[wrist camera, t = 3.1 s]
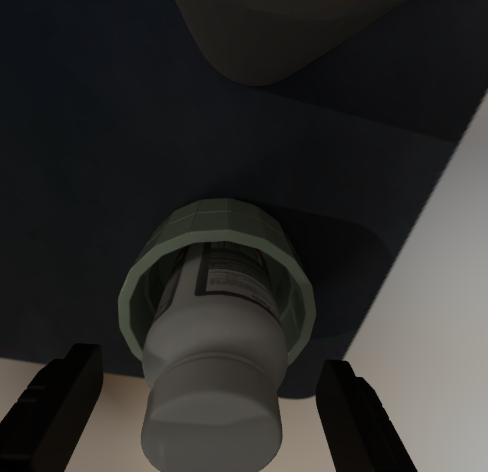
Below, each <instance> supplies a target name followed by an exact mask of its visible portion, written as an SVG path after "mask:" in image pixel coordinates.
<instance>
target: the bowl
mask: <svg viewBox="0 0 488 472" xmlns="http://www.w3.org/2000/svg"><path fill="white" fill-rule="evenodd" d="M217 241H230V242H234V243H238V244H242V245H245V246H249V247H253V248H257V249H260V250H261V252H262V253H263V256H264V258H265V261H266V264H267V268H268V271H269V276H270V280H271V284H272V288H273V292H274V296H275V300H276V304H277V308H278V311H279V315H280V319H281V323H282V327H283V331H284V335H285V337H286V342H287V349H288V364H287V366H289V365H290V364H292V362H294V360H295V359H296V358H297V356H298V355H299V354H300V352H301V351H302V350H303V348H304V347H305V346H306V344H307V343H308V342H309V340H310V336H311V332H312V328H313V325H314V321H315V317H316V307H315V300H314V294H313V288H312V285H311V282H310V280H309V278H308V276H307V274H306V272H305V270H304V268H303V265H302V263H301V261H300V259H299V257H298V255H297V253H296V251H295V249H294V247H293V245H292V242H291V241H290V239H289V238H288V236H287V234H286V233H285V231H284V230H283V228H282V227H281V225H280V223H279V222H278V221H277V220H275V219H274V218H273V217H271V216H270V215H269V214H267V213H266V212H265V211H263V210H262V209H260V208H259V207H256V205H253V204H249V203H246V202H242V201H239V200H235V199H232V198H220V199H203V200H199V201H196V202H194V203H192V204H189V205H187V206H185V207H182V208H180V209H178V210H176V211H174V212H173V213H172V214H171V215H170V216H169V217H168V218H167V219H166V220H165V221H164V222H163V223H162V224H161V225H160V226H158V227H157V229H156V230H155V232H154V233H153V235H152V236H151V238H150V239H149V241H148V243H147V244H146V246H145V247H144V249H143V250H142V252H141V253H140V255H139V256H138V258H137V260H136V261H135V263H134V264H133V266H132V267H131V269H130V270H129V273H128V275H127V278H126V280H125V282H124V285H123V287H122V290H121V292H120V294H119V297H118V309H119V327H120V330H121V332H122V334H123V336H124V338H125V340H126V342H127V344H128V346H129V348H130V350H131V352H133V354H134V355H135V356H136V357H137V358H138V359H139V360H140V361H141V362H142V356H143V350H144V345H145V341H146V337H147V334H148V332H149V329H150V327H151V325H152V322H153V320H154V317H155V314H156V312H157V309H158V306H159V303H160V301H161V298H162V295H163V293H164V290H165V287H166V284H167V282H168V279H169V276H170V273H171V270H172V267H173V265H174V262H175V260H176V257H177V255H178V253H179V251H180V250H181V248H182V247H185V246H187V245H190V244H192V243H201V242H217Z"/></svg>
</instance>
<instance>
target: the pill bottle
mask: <svg viewBox="0 0 488 472" xmlns="http://www.w3.org/2000/svg"><path fill="white" fill-rule="evenodd" d="M287 364H288V349H287V342H286V337H285V335H284V331H283V327H282V323H281V319H280V315H279V311H278V308H277V304H276V300H275V296H274V292H273V288H272V284H271V280H270V276H269V271H268V268H267V264H266V261H265V258H264V256H263V253H262V252H261V250H260V249H257V248H253V247H249V246H245V245H242V244H238V243H234V242H230V241H217V242H201V243H192V244H190V245H187V246H185V247H182V248H181V250H180V251H179V253H178V255H177V257H176V260H175V262H174V265H173V267H172V270H171V273H170V276H169V279H168V282H167V284H166V287H165V290H164V293H163V295H162V298H161V301H160V303H159V306H158V309H157V312H156V314H155V317H154V320H153V322H152V325H151V327H150V329H149V332H148V334H147V337H146V341H145V345H144V350H143V356H142V365H143V372H144V376H145V379H146V381H147V383H148V385H149V387H150V389H151V392H150V394H149V397H148V403H147V409H146V414H145V419H144V423H143V427H142V432H141V445H142V449H143V452H144V454H145V456H146V458H147V459H148V460H149V462H150V463H151V464H152V465H153V466H154V467H155V468H156V469H158V470H159V471H161V472H259V471H260V470H262V469H263V468H264V467H265V466H267V465H268V464H269V463H270V462H271V461H272V459H273V458H274V457H275V456H276V454H277V452H278V451H279V449H280V446H281V443H282V424H281V417H280V410H279V403H278V397H277V393H276V391H277V389H278V388H279V386H280V385H281V383H282V381H283V379H284V377H285V373H286V370H287Z"/></svg>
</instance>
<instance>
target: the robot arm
mask: <svg viewBox="0 0 488 472" xmlns="http://www.w3.org/2000/svg"><path fill="white" fill-rule="evenodd" d="M102 385H103V364H102V351H101V346H100V345H97V344H81V343H76V344H75V345H74V346H73V347H72V348H71V350H70V351H69V353H68V354H67V356H66V357H65V358H64V359H54V360H53V361H52V362H50V363H49V364H48V365H46V366H45V367H44V368H42V369H41V370H40V371H39V372H38V373H37V374H36V376H35V377H34V378H33V380H32V381H31V382H30V384H29V385H28V386H27V389H26V390H24V392H23V393H22V394H21V396H20V397H19V399H18V401H17V403H15V404H14V405H13V406H12V408H11V409H10V411H9V412H8V413H7V415H6V416H5V417H4V419H3V420H2V421H1V423H0V472H64V471H65V469H66V466H67V465H68V462H69V460H70V458H71V456H72V454H73V451H74V449H75V447H76V445H77V443H78V441H79V439H80V436H81V434H82V432H83V430H84V428H85V426H86V424H87V422H88V419H89V417H90V415H91V413H92V411H93V409H94V406H95V404H96V402H97V400H98V398H99V395H100V392H101V389H102ZM316 405H317V409H318V413H319V416H320V419H321V423H322V426H323V429H324V433H325V436H326V439H327V442H328V446H329V449H330V452H331V456H332V459H333V462H334V466H335V469H336V472H418V471H417V469H416V468H415V466H414V464H413V462H412V460H411V458H410V456H409V454H408V452H407V451H406V449H405V447H404V445H403V443H402V441H401V439H400V437H399V435H398V434H397V432H396V430H395V428H394V426H393V424H392V422H391V421H390V420H389V417H388V415H387V413H386V411H385V409H384V408H383V407H382V403H381V401H380V400H379V398H378V396H377V394H376V392H375V390H374V389H373V388H372V387H371V386H370V385H369V384H368V383H367V382H366V381H365V379H364V378H363V377H356V376H355V374H354V372H353V369H352V367H351V365H350V364H349V362H347V361H341V360H326V361H325V362H324V365H323V368H322V372H321V375H320V378H319V382H318V385H317V388H316Z"/></svg>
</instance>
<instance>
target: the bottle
mask: <svg viewBox="0 0 488 472" xmlns="http://www.w3.org/2000/svg"><path fill="white" fill-rule="evenodd" d="M175 1H176V3H177V5H178V8H179V10H180V12H181V14H182V16H183V18H184V20H185V22H186V24H187V26H188V28H189V30H190V32H191V34H192V36H193V38H194V40H195V41H196V43H197V45H198V47H199V49H200V51H201V52H202V54H203V55H204V57H205V58H206V60H207V61H208V62H209V63H210V64H211V65H212V67H213V68H214V69H215V70H217V71H218V72H219V73H220V74H222V75H223V76H224V77H226V78H228V79H230V80H232V81H234V82H236V83H239V84H242V85H247V86H265V85H269V84H274V83H276V82H278V81H281V80H283V79H285V78H287V77H289V76H290V75H292V74H293V73H295V72H297V71H298V70H300V69H301V68H303V67H305V66H306V65H308V64H310V63H311V62H313V61H314V60H316V59H318V58H319V57H321V56H322V55H324V54H326V53H327V52H329V51H330V50H332V49H333V48H335V47H336V46H338V45H339V44H341V43H342V42H344V41H345V40H347V39H348V38H350V37H352V36H353V35H355V34H356V33H358V32H359V31H361V30H362V29H364V28H365V27H367V26H368V25H370V24H371V23H373V22H374V21H376V20H377V19H379V18H380V17H382V16H383V15H385V14H386V13H388V12H390V11H391V10H393V9H394V8H396V7H397V6H399V5H400V4H402V3H403V2H405V1H406V0H175Z"/></svg>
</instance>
